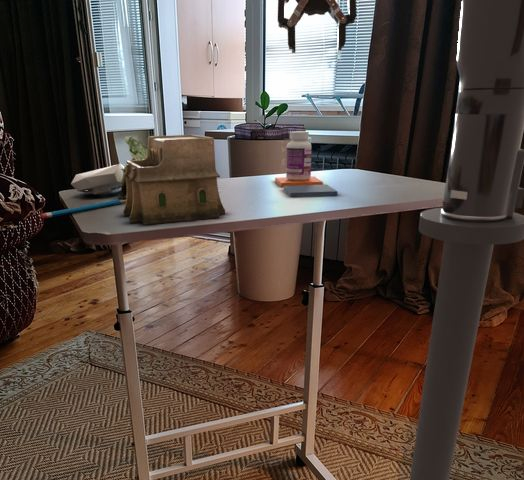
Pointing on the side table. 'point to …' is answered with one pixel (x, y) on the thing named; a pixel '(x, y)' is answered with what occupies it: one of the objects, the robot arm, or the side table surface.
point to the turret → (99, 180)
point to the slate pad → (310, 190)
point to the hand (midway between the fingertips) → (316, 50)
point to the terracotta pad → (298, 182)
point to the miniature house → (173, 181)
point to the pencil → (81, 209)
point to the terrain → (136, 148)
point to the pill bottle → (298, 157)
